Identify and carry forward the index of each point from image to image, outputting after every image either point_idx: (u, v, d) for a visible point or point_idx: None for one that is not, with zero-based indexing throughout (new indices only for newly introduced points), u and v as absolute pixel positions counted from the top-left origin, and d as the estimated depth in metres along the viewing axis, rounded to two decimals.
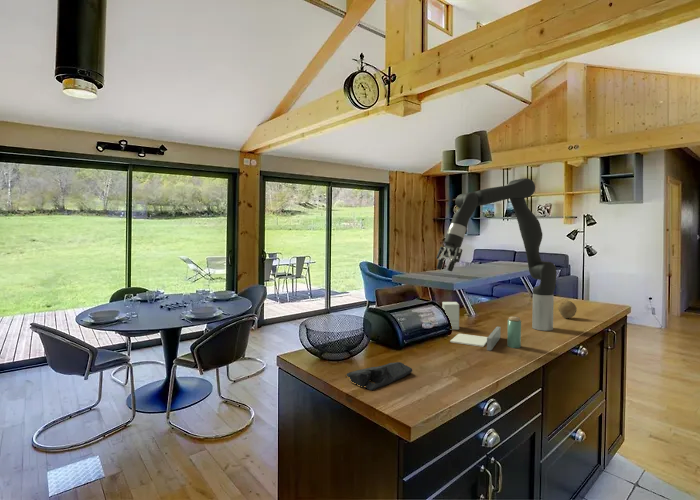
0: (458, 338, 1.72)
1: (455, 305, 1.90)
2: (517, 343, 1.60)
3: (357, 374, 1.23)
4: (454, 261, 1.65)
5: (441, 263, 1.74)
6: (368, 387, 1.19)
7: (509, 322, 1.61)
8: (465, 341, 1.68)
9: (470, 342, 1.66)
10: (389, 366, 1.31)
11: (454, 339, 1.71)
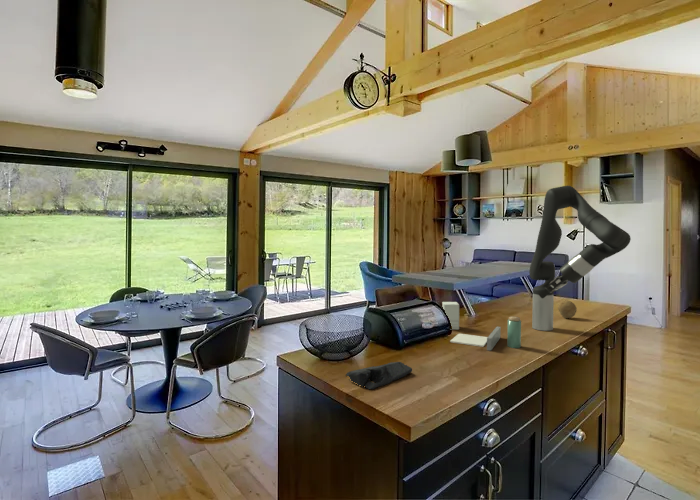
0: (458, 338, 1.72)
1: (455, 305, 1.90)
2: (517, 343, 1.60)
3: (357, 373, 1.23)
4: None
5: None
6: (367, 386, 1.20)
7: (509, 322, 1.61)
8: (465, 341, 1.68)
9: (470, 342, 1.66)
10: (389, 366, 1.31)
11: (454, 339, 1.71)
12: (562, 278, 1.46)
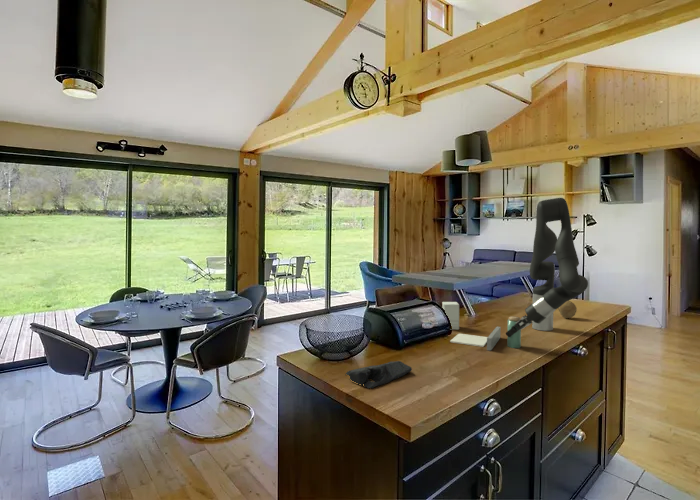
0: (458, 338, 1.72)
1: (455, 305, 1.90)
2: (517, 342, 1.60)
3: (356, 372, 1.24)
4: None
5: None
6: (367, 385, 1.21)
7: (509, 322, 1.61)
8: (465, 341, 1.68)
9: (470, 342, 1.66)
10: (388, 365, 1.32)
11: (454, 339, 1.71)
12: (527, 319, 1.55)
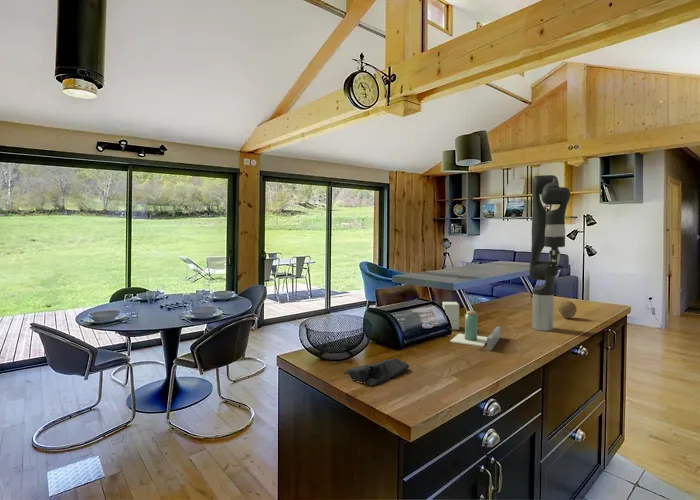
0: (458, 338, 1.72)
1: (455, 305, 1.90)
2: (472, 335, 1.69)
3: (357, 371, 1.25)
4: None
5: None
6: (368, 383, 1.22)
7: (466, 316, 1.70)
8: (465, 341, 1.68)
9: (470, 342, 1.66)
10: (387, 362, 1.34)
11: (454, 339, 1.71)
12: (554, 249, 1.59)
